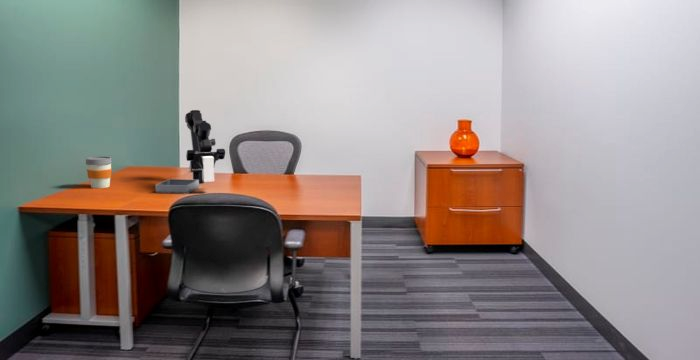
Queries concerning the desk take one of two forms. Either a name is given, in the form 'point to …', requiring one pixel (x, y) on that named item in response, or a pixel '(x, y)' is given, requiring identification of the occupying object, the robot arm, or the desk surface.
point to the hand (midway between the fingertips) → (208, 168)
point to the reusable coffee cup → (99, 171)
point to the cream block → (208, 168)
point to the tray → (177, 186)
